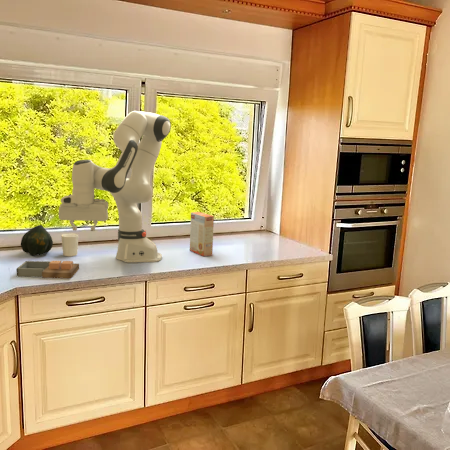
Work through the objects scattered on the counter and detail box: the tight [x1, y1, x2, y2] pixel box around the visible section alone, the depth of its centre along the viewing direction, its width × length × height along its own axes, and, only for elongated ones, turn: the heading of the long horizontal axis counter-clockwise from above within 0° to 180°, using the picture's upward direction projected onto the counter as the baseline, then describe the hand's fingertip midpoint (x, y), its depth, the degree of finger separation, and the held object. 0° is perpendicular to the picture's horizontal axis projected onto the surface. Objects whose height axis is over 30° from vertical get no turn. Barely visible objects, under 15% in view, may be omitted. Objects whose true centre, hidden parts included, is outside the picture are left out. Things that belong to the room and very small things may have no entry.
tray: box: [16, 260, 51, 278], centre depth 208 cm, size 11×12×4 cm
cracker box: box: [189, 211, 215, 257], centre depth 250 cm, size 14×6×21 cm, turn 34°
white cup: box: [61, 232, 79, 257], centre depth 238 cm, size 8×8×10 cm
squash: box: [20, 224, 54, 257], centre depth 237 cm, size 14×15×15 cm
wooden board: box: [41, 262, 80, 279], centre depth 209 cm, size 12×14×2 cm
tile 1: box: [49, 260, 62, 269], centre depth 208 cm, size 4×4×2 cm
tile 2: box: [61, 260, 74, 269], centre depth 208 cm, size 4×4×2 cm
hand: (83, 230), depth 206 cm, fingers open, 6 cm apart
